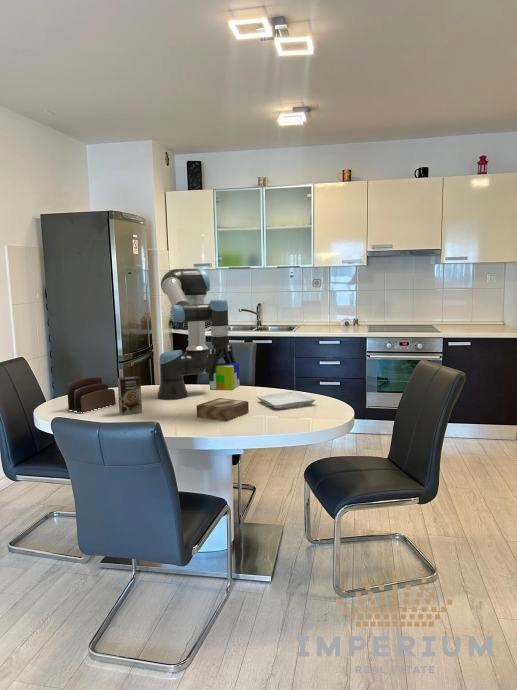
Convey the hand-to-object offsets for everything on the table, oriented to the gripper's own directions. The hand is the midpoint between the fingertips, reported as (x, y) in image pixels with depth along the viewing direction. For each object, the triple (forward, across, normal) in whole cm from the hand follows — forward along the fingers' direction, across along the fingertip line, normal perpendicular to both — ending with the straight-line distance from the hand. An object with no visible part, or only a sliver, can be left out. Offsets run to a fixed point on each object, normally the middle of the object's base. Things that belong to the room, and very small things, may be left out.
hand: (222, 386), depth 219 cm
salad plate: (+13, +30, -14) cm, 36 cm away
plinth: (+13, 0, 0) cm, 13 cm away
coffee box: (+13, -16, +40) cm, 45 cm away
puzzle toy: (+1, 0, -1) cm, 2 cm away
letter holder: (+13, -18, +64) cm, 68 cm away
